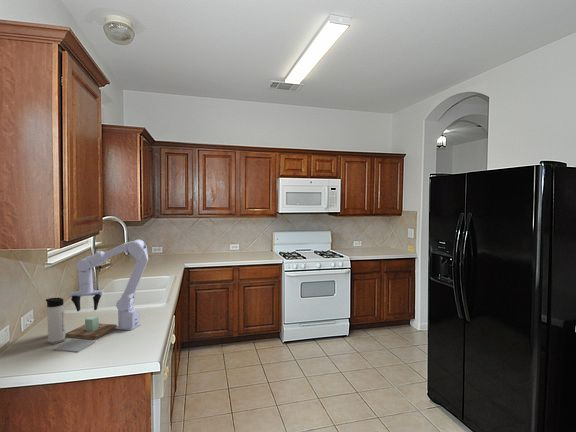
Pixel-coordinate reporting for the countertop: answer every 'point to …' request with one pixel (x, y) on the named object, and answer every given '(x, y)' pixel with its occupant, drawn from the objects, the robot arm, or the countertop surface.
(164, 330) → the countertop surface
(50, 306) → the travel mug
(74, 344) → the rubber mat
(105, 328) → the pocket tray
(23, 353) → the countertop surface
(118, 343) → the countertop surface
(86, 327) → the green block
